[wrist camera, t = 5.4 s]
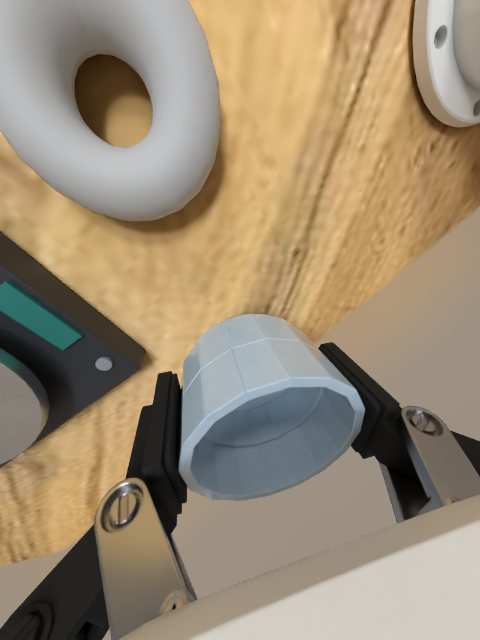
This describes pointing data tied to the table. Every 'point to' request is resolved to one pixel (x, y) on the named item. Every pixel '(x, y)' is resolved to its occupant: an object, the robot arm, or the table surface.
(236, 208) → the table surface
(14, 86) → the donut
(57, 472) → the table surface
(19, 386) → the scale pan
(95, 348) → the scale
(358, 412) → the light blue cup
